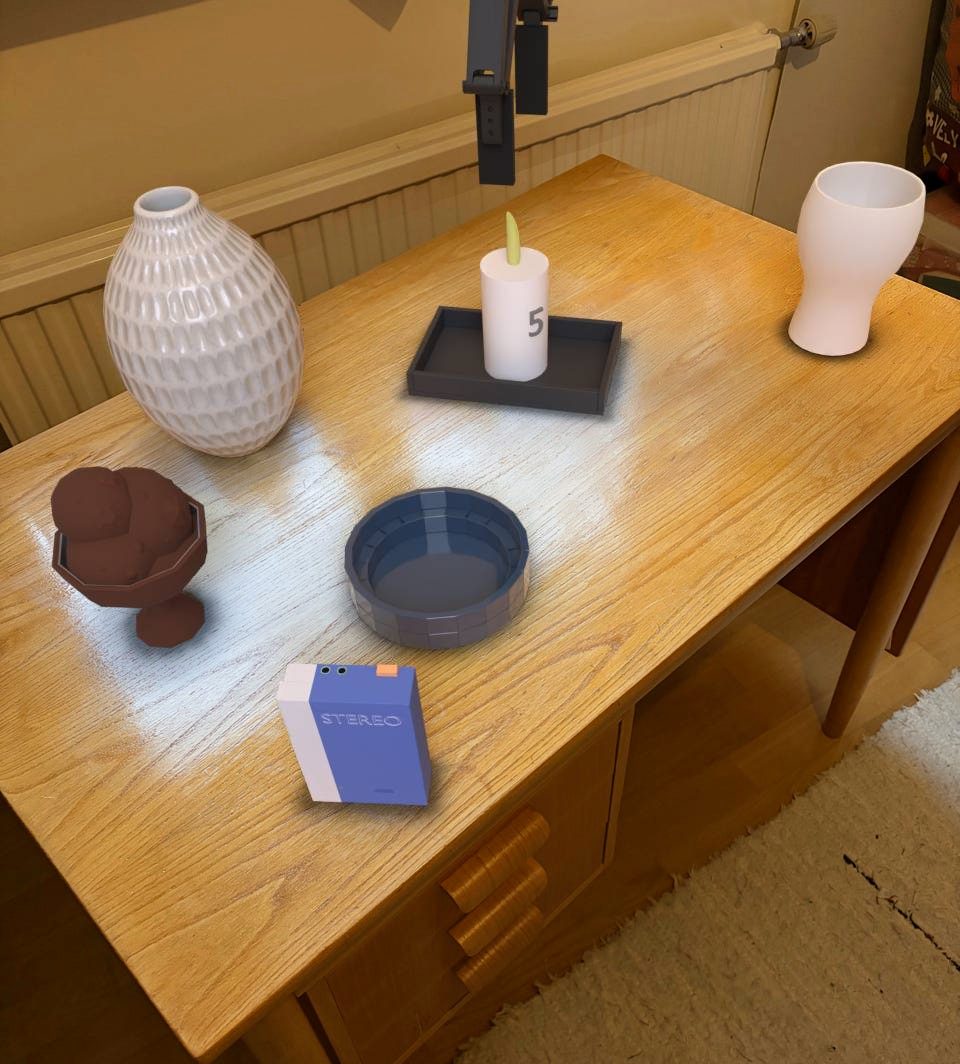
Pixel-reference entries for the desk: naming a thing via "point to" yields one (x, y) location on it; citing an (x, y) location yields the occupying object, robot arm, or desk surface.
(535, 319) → the candle
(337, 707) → the walkman
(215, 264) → the vase
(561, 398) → the tray
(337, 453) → the desk surface
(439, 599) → the bowl
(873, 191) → the cup
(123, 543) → the ice cream bowl
